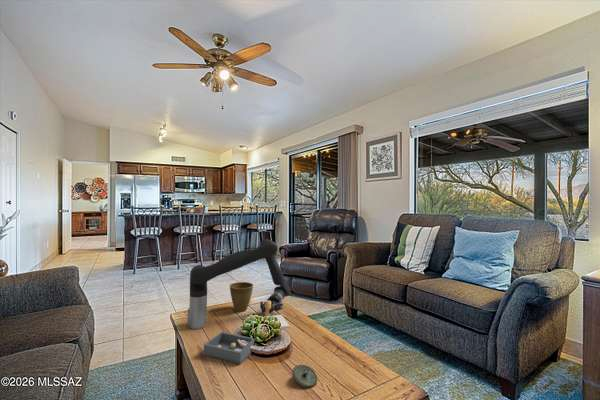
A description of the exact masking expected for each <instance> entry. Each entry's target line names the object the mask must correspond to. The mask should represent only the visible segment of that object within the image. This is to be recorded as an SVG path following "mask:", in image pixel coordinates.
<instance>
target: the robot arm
mask: <svg viewBox="0 0 600 400" xmlns="http://www.w3.org/2000/svg"><path fill="white" fill-rule="evenodd" d="M278 248H279V247H278V245H277V244H276V243H275V242H274V241H273V240H272V239H268V238H264V239H262V241H261V242H260V244H259V246H258V247H256V248H253V249H245V250H240V251H235V252H234V253H230V254H229V255H226V256H225V257H222V258H221V259H219V261H217V262H215V263H212V264H210V265H206V266H204V265H201V264H197V265H195V266H193V267H192V268H191V270H190V273H189V275H190V276H189V306H188V307H189V308H188V309H187V321H186V326H187V327H188V328H190V329H192V330H198V329H203V328H205V327H206V326H207V313H208V312H207V311H208V307H207V306H208V281H210V280H213V279H215V278H216V277H219V276H221V275H225V274H227V273H229V272H233V271H234V270H235V271H236V270H237V269H240V268H242V267H245V266H247V265H250V264H252V263H254V262H256V261H257V262H258V261H260V260H263V259H265V262H266V265H267V266H268V269H269V273H270V276H271V279H272V282H273V284H274V285H275V287H274V289H273V293H272V294H271V295H270V296H269V297H268V298H267V300H266V301H271V308H270V309H269V314H271V315H272V314H273V313H274V312H279V311H281V310H283V308H284V303H282V302H283V301H284V299H285V298H286V297H289V296H290V295H291V288H290V286H289V284H288V283H287V282H286V279H285V278H284V274H283V271H282V269H281V267H280V265H279V263H278V261H277V257H276V255H275V254H277V252H278ZM259 308H260V310H261V312H262V314H265V302H263V301H262V300H261V301H260V303H259Z"/></svg>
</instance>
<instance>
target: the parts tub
mask: <svg viewBox="0 0 600 400" xmlns="http://www.w3.org/2000/svg"><path fill="white" fill-rule="evenodd" d="M251 338H252V337H249V336H244V335H240V334H234V333H229V332H225V331H220V332H219V333H218V334H216V335H215V336H213V337H212V338H211V339H210V340H208V341H207V342H205V344H203V356H204V357H208V358H212V359H216V360H220V361H224V362H227V363H232V364H237V365H241V364H243V363H244V362H245V361H246V359H248V357H249V356H251V354H252V353H251V351H250V347H251V345H253V344H254V340H252V339H251ZM238 339H240V340H245V341H250V342H249V343H248V344H247V345H246V346H245V347H244V348H242V347H241V346H240V345H239V343H238V341H237V340H238Z"/></svg>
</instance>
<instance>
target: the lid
mask: <svg viewBox="0 0 600 400" xmlns="http://www.w3.org/2000/svg"><path fill="white" fill-rule="evenodd" d="M291 375H292V378H293V380H294V381H295V382H296V383H297V384H298V385H299V386H301V387H303V388H305V389H306V388H308V389H309V388H312V387H315V386H316V385H317V382H318V376H317V373H316V372H315V370H314V369H313V368H311V367H310V366H308V365H305V364H297V365H295V366H293V368H292V371H291Z"/></svg>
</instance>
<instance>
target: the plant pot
mask: <svg viewBox="0 0 600 400" xmlns="http://www.w3.org/2000/svg"><path fill="white" fill-rule="evenodd" d="M253 289H254V284H253V283H252V282H247V281H239V282H233V283H231V284H230V285H229V291H230V297H231V301H232V306H233V308H234V311H236V312H239V313H240V312H242V313H243V312H246V311H247V310H248V308H249V304H250V301H251V298H252V294H253Z"/></svg>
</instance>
